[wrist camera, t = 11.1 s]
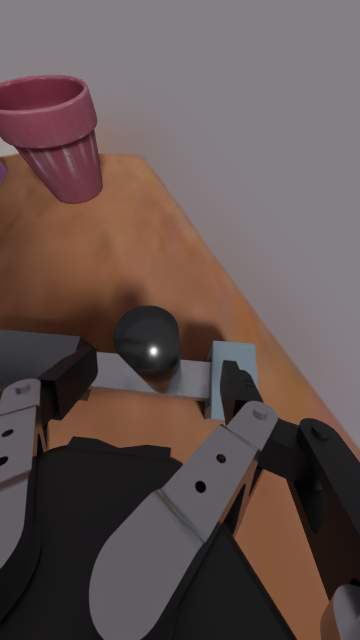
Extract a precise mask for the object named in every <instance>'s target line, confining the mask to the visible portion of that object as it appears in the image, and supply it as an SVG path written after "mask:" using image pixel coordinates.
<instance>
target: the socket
mask: <svg viewBox="0 0 360 640" xmlns="http://www.w3.org/2000/svg"><path fill="white" fill-rule="evenodd" d="M223 360H231V361H236V362H237V364H238V367H239V369H240V370H246V371H247V372H248V373H249V374H250V375H251V377H252V379H253V381H254V383H255V385H256V387H257V389H258V378H257V366H256V354H255V344H248V343H236V342H224V341H213V342H212V345H211V348H210V351H209V354H208V356H207V362H211V396H210V402H205V415H204V419H206V420H215V421H224V422H225V418H224V412H223V407H222V401H221V395H220V379H221V371H222V364H223ZM258 392H259V391H258Z"/></svg>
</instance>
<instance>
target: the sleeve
mask: <svg viewBox="0 0 360 640" xmlns="http://www.w3.org/2000/svg"><path fill="white" fill-rule="evenodd" d="M81 347H89V348H94V347H93V346H92V345H90V344H89V343H88V342H87V341H85V340H84V339H83V338H82V337H81V336H70V335H58V334H47V333H35V332H24V331H13V330H1V329H0V391H4V389H5V388H6V387H8V386H9V385H11V384H13V383H15V382H18V381H21V380H25V379H36V378H37V377H39V376H40V375H41V374H43V373H44V372H45V371H47V370H48V369H49V368H51V367H53V365H55V364H56V363H58V362H59V361H60V360H61V359H63V358H64V357H67V356H69V355H71V354H74V353H75V352H76V351H77V350H79V349H80V348H81ZM96 351H97V352H99V351H98V350H96ZM89 393H90V389H87V390H86V391H85V393H84V394H83V395H82V396H81V397H80V399H79V400H85V401H87V400H88V397H89Z"/></svg>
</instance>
